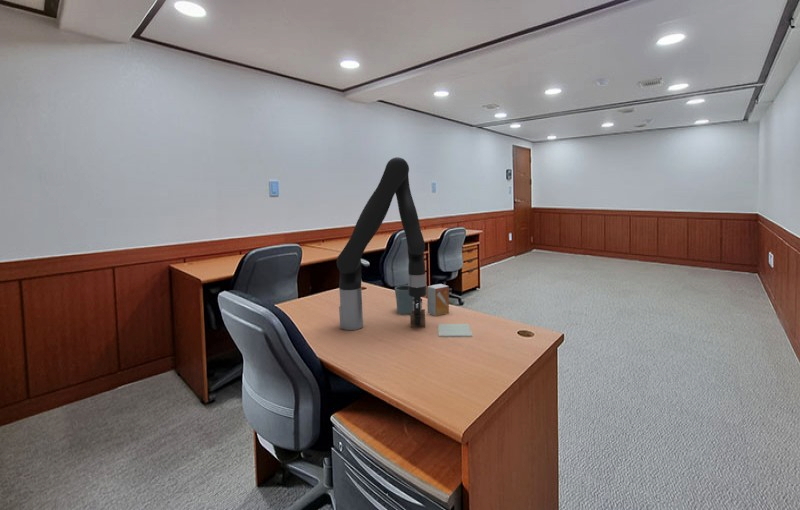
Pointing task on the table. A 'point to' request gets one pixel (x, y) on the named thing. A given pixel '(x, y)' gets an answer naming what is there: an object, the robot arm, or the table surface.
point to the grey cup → (403, 300)
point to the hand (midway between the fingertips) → (418, 322)
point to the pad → (454, 330)
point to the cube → (422, 319)
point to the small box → (438, 299)
